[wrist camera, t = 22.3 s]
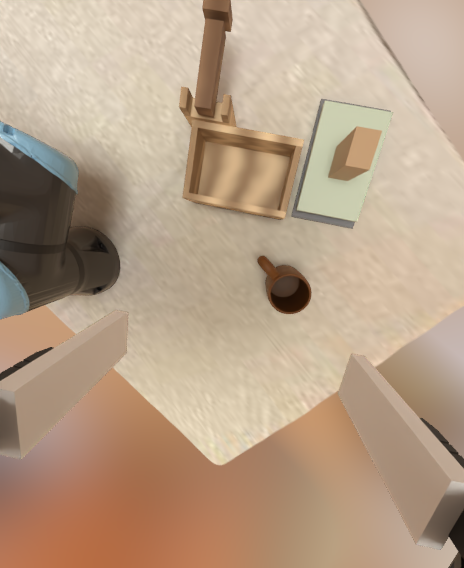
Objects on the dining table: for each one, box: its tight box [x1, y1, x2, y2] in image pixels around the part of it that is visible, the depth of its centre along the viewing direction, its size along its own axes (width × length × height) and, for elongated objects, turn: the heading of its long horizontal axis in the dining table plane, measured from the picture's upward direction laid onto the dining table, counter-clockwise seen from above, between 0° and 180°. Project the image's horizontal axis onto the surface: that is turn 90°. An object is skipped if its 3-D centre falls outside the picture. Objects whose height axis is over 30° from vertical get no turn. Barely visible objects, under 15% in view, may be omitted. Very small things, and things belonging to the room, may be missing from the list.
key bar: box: [194, 0, 233, 117], centre depth 32 cm, size 3×12×3 cm, turn 169°
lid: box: [296, 101, 393, 222], centre depth 37 cm, size 18×11×10 cm, turn 169°
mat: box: [292, 99, 391, 229], centre depth 42 cm, size 12×20×1 cm, turn 169°
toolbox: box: [179, 87, 304, 220], centre depth 39 cm, size 19×14×10 cm
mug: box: [258, 256, 311, 314], centre depth 43 cm, size 12×8×9 cm, turn 41°
